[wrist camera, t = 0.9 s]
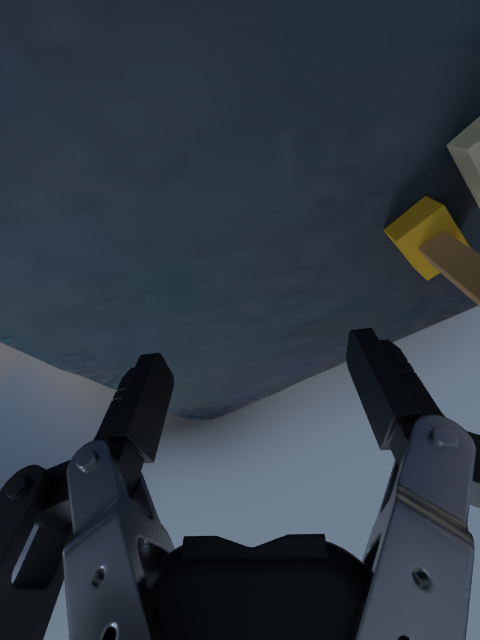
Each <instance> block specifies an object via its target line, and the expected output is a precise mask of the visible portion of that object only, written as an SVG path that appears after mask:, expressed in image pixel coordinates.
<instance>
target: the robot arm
mask: <svg viewBox="0 0 480 640" xmlns="http://www.w3.org/2000/svg"><path fill="white" fill-rule="evenodd" d="M346 361H347V366H348V369H349V372H350V375H351V377H352V380H353V382H354V385H355V387H356V390H357V392H358V395H359V397H360V400H361V403H362V405H363V407H364V410H365V413H366V415H367V417H368V420H369V422H370V425H371V428H372V430H373V433H374V435H375V438H376V440H377V443H378V445H379V448H380V450H391V451H392V453H393V456H394V458H395V462H394V465H393V468H392V472H391V475H390V478H389V481H388V484H387V488H386V491H385V494H384V497H383V501H382V504H381V507H380V510H379V513H378V516H377V519H376V521H375V524H374V526H373V529H372V531H371V534H370V537H369V541H368V544H367V547H366V550H365V553H364V556H363V560H362V562H361V561H360V560H358V559H357V558H356V557H355V556H354V555H353V554H351V553H349V552H348V551H346V550H345V549H343V548H341V547H339V546H337V545H335V544H333V543H330V542H327V541H325V535H324V534H295V535H294V534H293V535H285V536H283V537H280V538H277V539H275V540H272V541H269V542H267V543H264V544H262V545H259V546H256V547H247V546H244V545H241V544H238V543H235V542H232V541H230V540H227V539H224V538H221V537H218V536H184V539H183V545H182V546H180V547H178V548H176V549H175V548H174V546H173V543H172V541H171V538H170V537H169V534H168V532H167V531H166V529H165V528H164V526H163V525H162V524H161V522H160V520H159V518H158V515H157V513H156V510H155V507H154V504H153V502H152V499H151V496H150V493H149V491H148V488H147V485H146V482H145V480H144V477H143V474H142V473H141V469H142V466H143V463H154V460H155V456H156V452H157V449H158V444H159V441H160V437H161V433H162V429H163V425H164V421H165V418H166V414H167V410H168V406H169V402H170V398H171V394H172V391H173V386H174V378H173V374H172V372H171V371H170V369H169V367H168V365H167V364H166V362H165V360H164V358H163V357H162V355H161V354H160V353H152V354H144V355H141V356H140V357H139V359H138V361H137V364H136V366H135V368H131V369H130V370H129V371H128V372H127V373H126V374H125V376H124V377H123V378H122V380H121V382H120V384H119V386H118V389H117V392H116V393H115V395H114V397H113V401H112V402H111V404H110V406H109V408H108V410H107V413H106V415H105V417H104V419H103V421H102V424H101V426H100V428H99V430H98V433H97V434H96V436H95V438H94V440H93V441H91V442H88V443H87V444H85V445H84V446H82V447H81V448H80V449H79V450H78V451H77V452H76V453H75V454H74V456H73V457H72V459H71V460H69V461H66V462H64V463H61V464H59V465H57V466H54V467H52V468H49V469H47V470H46V469H44V468H42V467H40V466H38V465H29V466H27V467H25V468H23V469H21V470H19V471H18V472H17V473H16V474H14V475H13V476H12V477H11V478H10V479H9V480H8V481H7V482H6V483H5V485H4V486H3V488H2V489H1V491H0V640H43V638H44V635H45V632H46V630H47V627H48V624H49V621H50V618H51V615H52V612H53V609H54V606H55V604H56V601H57V598H58V595H59V592H60V589H61V586H62V583H63V580H65V591H66V604H67V615H68V627H69V639H70V640H466V632H467V622H468V611H469V602H470V591H471V582H472V572H473V562H474V540H473V536H472V534H471V533H470V532H469V531H468V525H467V523H468V513H469V505H472V506H476V507H479V508H480V435H477V434H474V433H471V432H468V431H466V430H465V429H463V428H462V427H461V426H460V425H458V424H457V423H456V422H454V421H452V420H450V419H448V418H446V417H445V416H444V415H443V414H442V412H441V411H440V410H439V408H438V407H437V405H436V404H435V402H434V400H433V399H432V398H431V396H430V394H429V393H428V391H427V390H426V388H425V387H424V385H423V383H422V382H421V380H420V379H419V377H418V376H417V374H416V373H414V370H413V368H412V366H411V365H410V363H408V361H407V359H406V357H405V356H404V354H403V353H402V351H401V349H400V348H398V347H397V346H396V345H394V344H393V343H392V342H391V341H389V340H388V339H387V340H379V339H378V337H377V336H376V334H375V332H374V330H373V329H372V328H365V329H357V330H350V332H349V338H348V346H347V353H346ZM34 525H37V526H39V528H38V531H37V532H36V535H35V537H34V539H33V541H32V544H31V546H30V548H29V550H28V552H27V555H26V557H25V559H24V561H23V564H22V566H21V568H20V570H19V572H18V574H17V577H16V579H15V581H14V582H13V584H12V582H11V577H12V572H13V569H14V567H15V565H16V563H17V561H18V558H19V556H20V554H21V552H22V550H23V548H24V546H25V544H26V541H27V539H28V537H29V535H30V533H31V531H32V528H33V526H34Z"/></svg>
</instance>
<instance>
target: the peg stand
mask: <svg viewBox="0 0 480 640" xmlns="http://www.w3.org/2000/svg"><path fill="white" fill-rule="evenodd" d="M384 232H385V233H386V234H387V235H388V237H389V238H390V239H391V240H392V241H393V243H394V244H395V245H396V246H397V248H398V249H399V250H400V251H401V252H402V254H403V255H404V256H405V257H406V259H407V260H408V261H409V262H410V264H411V265H412V266H413V267H414V268H415V269H416V270H417V271H418V272H419V273H420V274H421V275H422V276H423V277H424V278H425V279H426V280H429V279H431V278H433V277H434V276H436V275H437V274H439V273H441V274H443V275H444V276H445V277H446V278H447V279H448V280H450V281H451V282H452V283H453V284H454V285H455V286H457V287H458V288H459V289H460V290H461V291H462V292H463V293H465V294H466V295H467V296H468V297H469V298H470V299H472V300H473V301H474V302H475V303H476V304H477V305H479V306H480V254H479V253H477V252H476V251H474V250H473V249H471V248H470V246H469V245H468V243H467V242H466V240H465V238H464V237H463V235H462V233H461V232H460V230H459V229H458V227H457V225H456V224H455V222H454V220H453V219H452V217H451V215H450V214H449V212H448V211H447V209H446V207H445V206H444V205H443V204H441V203H439V202H437V201H435V200H433V199H431V198H429V197H427V196H425V197H424V198H422V199H421V200H420V201H419V202H417V203H416V204H415V205H414V206H412V207H411V208H410V209H409V210H407V211H406V212H405V213H404V214H402V215H401V216H400V217H399V218H398V219H396V220H395V221H394V222H393V223H391V224H390V225H389V226H388V227H386V228H385V229H384Z"/></svg>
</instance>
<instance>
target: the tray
mask: <svg viewBox="0 0 480 640" xmlns="http://www.w3.org/2000/svg"><path fill="white" fill-rule="evenodd" d="M446 146H447V148H448V150H449V152H450V154H451V155H452V157H453V159H454V161H455V163H456V165H457V167H458V169H459V171H460V172H461V174H462V176H463V178H464V180H465V182H466V184H467V186H468V188H469V189H470V191H471V193H472V195H473V197H474V199H475V201H476V203H477V205H478V206H479V208H480V116H479V117H478V118H477V119H476V120H475V121H473V122H472V123H471V124H470V125H469V126H468V127H467V128H465V129H464V130H463V131H462V132H461V133H460V134H459V135H457V136H456V137H455V138H454V139H453V140H452V141H451V142H449V143H448V144H447V145H446Z"/></svg>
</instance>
